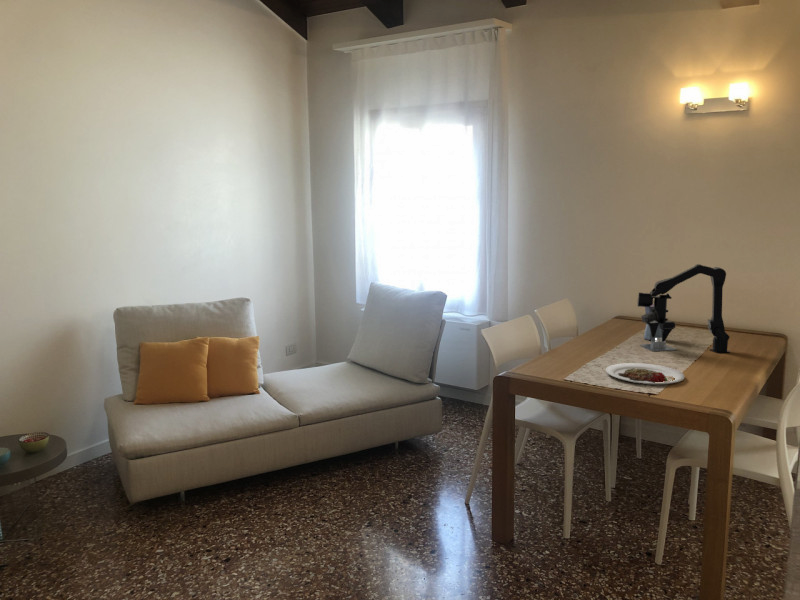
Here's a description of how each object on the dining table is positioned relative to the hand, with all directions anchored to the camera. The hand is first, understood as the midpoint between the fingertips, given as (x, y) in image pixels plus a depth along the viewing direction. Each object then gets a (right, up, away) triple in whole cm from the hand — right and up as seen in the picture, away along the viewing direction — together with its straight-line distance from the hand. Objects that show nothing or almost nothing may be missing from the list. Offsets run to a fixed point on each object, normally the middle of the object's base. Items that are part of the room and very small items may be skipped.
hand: (658, 339), depth 308 cm
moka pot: (+5, -2, +19) cm, 20 cm away
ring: (0, -4, +1) cm, 4 cm away
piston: (0, -4, +1) cm, 4 cm away
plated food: (-25, -13, -48) cm, 55 cm away
